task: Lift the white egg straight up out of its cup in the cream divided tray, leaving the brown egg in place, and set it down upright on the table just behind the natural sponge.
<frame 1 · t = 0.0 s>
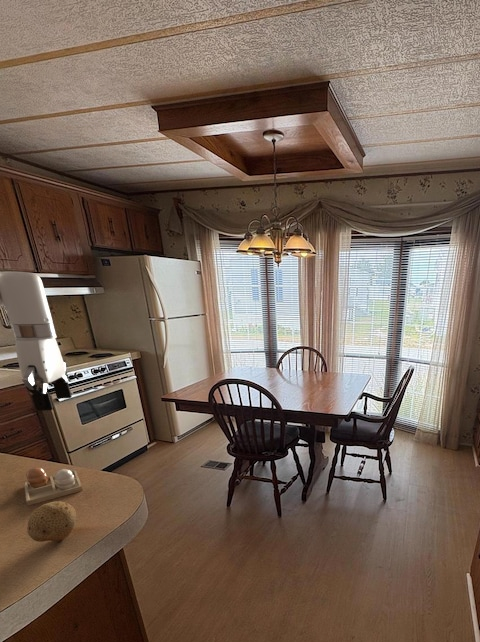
hand: (55, 403, 84), 29 cm above the table, tool pointing down, fingers open, 9 cm apart
white egg: (67, 488, 101), resting on cream divided tray
natural sponge: (58, 540, 81), on the table
cream divided tray: (54, 489, 101), on the table
brown egg: (40, 487, 101), resting on cream divided tray
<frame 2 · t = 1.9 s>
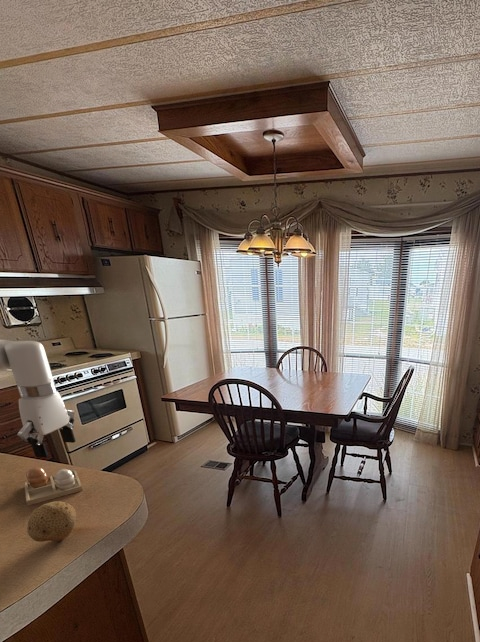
hand: (56, 449, 96), 13 cm above the table, tool pointing down, fingers open, 9 cm apart
nothing on the table moved.
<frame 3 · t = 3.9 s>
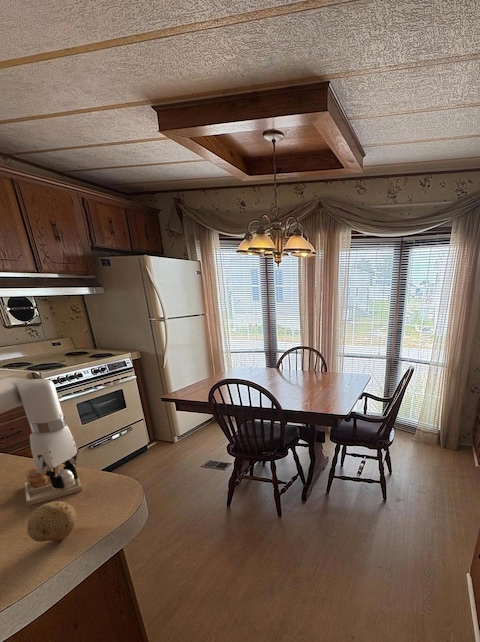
hand: (65, 482, 100), 3 cm above the table, tool pointing down, fingers closed on white egg, 4 cm apart
white egg: (67, 488, 101), resting on cream divided tray, touching gripper
everything else where it was.
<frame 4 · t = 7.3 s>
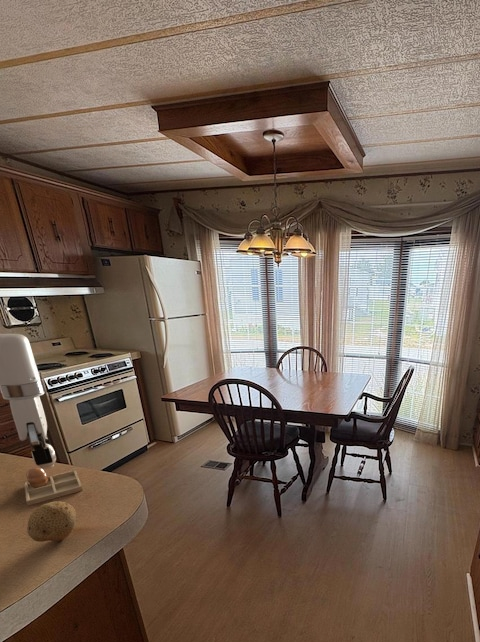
hand: (45, 458, 86), 15 cm above the table, tool pointing down, fingers closed on white egg, 4 cm apart
white egg: (47, 466, 87), point 13 cm above the table, touching gripper
everything else where it was.
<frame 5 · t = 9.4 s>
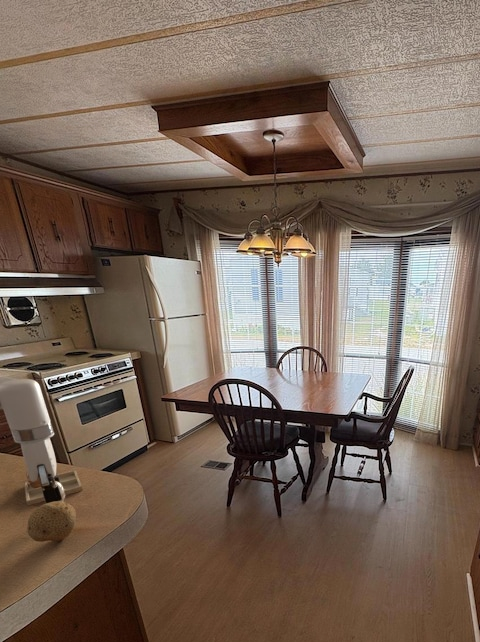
hand: (54, 495, 88), 6 cm above the table, tool pointing down, fingers closed on white egg, 4 cm apart
white egg: (56, 503, 89), point 3 cm above the table, touching gripper
everything else where it was.
when the fingers open (2 cm above the table, at t = 10.6 s): white egg stays where it is, on the table.
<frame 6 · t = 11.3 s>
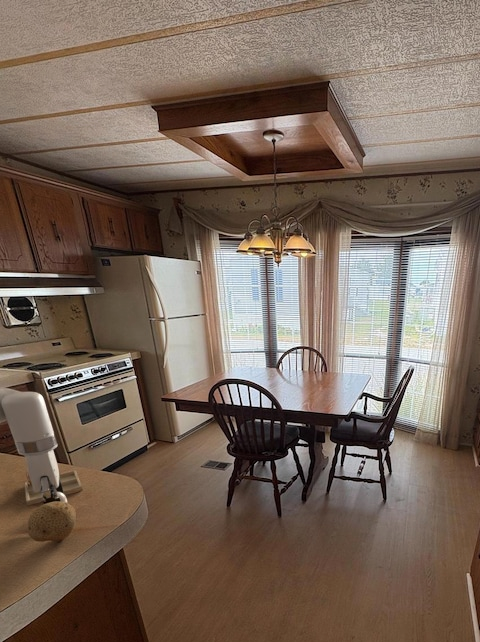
hand: (56, 502, 89), 3 cm above the table, tool pointing down, fingers open, 9 cm apart
white egg: (60, 513, 90), on the table
everything else where it was.
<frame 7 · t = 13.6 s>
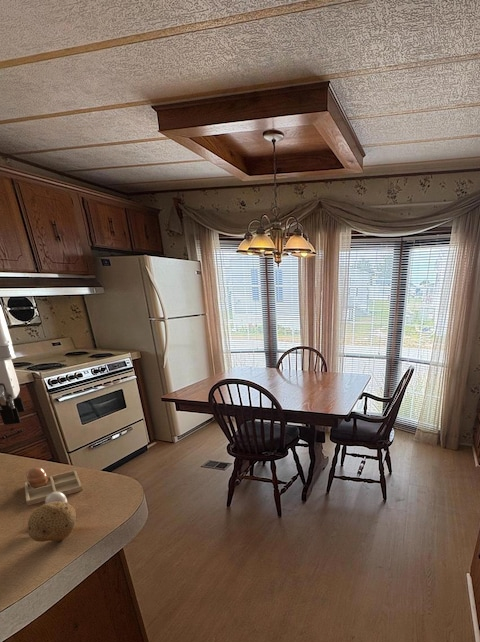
hand: (15, 417, 91), 23 cm above the table, tool pointing down, fingers open, 9 cm apart
nothing on the table moved.
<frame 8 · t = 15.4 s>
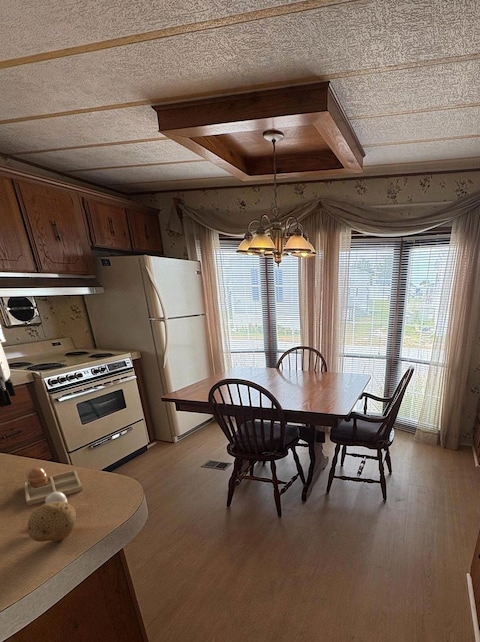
hand: (6, 400, 93), 26 cm above the table, tool pointing down, fingers open, 9 cm apart
nothing on the table moved.
at the end: white egg inside the target area on the table beside the natural sponge (0.1 cm from its centre), on the table; white egg touching table; the gripper is holding nothing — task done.
